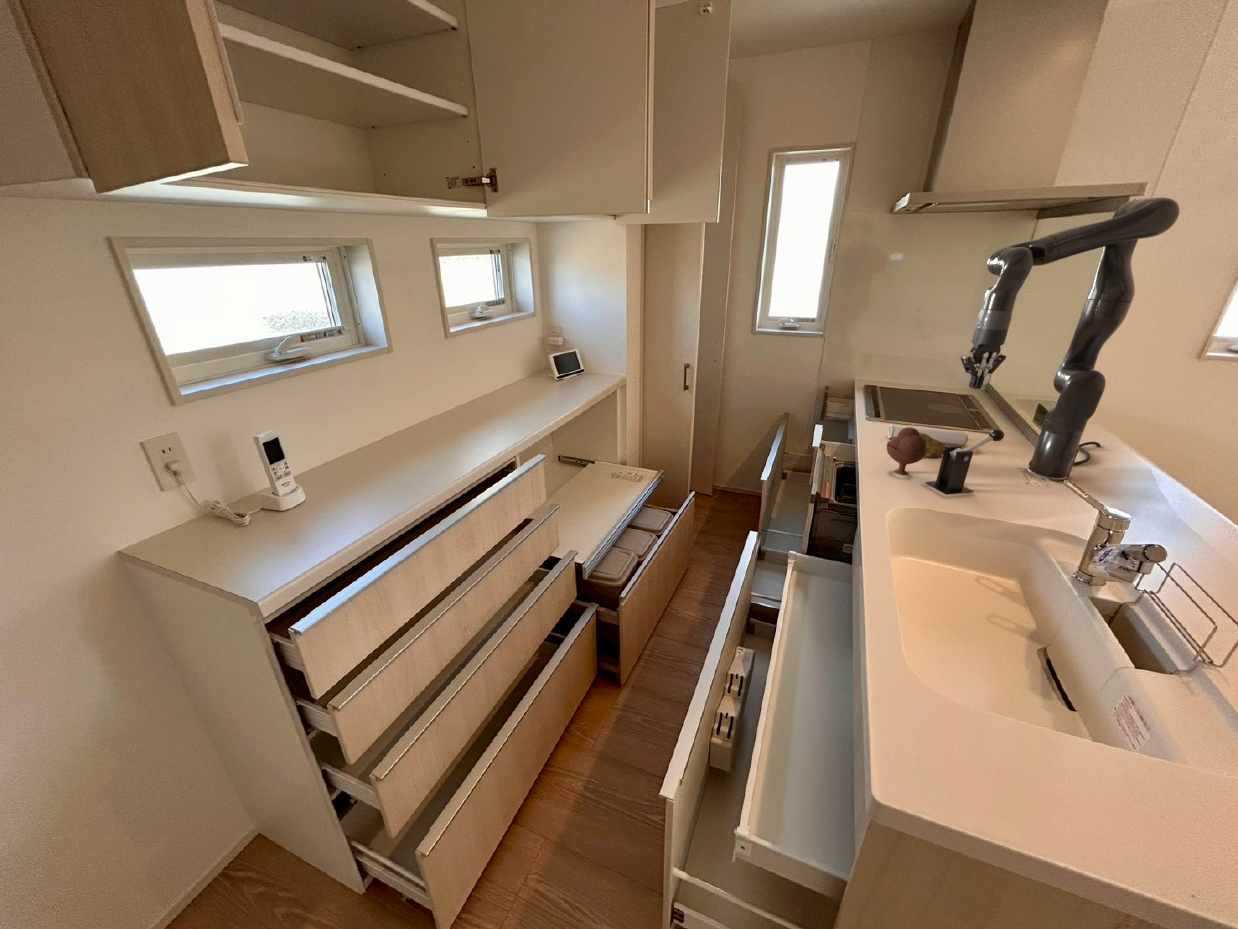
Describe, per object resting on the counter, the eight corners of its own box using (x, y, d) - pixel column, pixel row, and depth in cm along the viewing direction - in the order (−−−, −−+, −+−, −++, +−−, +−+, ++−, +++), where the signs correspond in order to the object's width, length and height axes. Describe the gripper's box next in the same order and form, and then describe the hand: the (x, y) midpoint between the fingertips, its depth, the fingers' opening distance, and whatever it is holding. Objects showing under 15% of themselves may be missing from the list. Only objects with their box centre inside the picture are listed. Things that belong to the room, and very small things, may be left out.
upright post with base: (950, 483, 147) (961, 442, 142) (972, 495, 140) (985, 452, 135) (923, 485, 145) (934, 444, 141) (944, 497, 138) (956, 455, 133)
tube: (966, 432, 178) (889, 424, 185) (972, 432, 172) (892, 424, 180) (964, 447, 178) (887, 438, 186) (969, 447, 173) (890, 438, 181)
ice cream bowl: (872, 471, 155) (882, 425, 150) (899, 466, 159) (909, 421, 153) (901, 484, 146) (912, 436, 140) (928, 479, 150) (941, 432, 144)
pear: (949, 462, 162) (955, 439, 159) (904, 458, 166) (910, 435, 163) (942, 453, 169) (948, 431, 166) (900, 449, 173) (905, 427, 170)
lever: (997, 435, 140) (996, 425, 139) (1008, 439, 137) (1006, 429, 136) (949, 459, 141) (947, 450, 139) (958, 464, 138) (957, 454, 136)
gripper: (982, 328, 132) (965, 392, 138) (1025, 327, 134) (1006, 390, 141) (959, 325, 139) (944, 386, 145) (1000, 324, 141) (983, 384, 147)
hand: (974, 388), depth 143 cm, fingers closed
